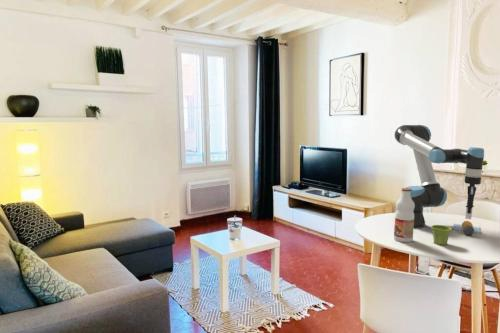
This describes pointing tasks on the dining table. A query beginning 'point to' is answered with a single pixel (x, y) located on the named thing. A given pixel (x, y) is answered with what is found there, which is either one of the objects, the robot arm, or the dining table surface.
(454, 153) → the robot arm
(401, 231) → the fruit juice
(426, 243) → the dining table surface
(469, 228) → the ball
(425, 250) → the dining table surface
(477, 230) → the mark
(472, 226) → the ball
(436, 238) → the plant pot
